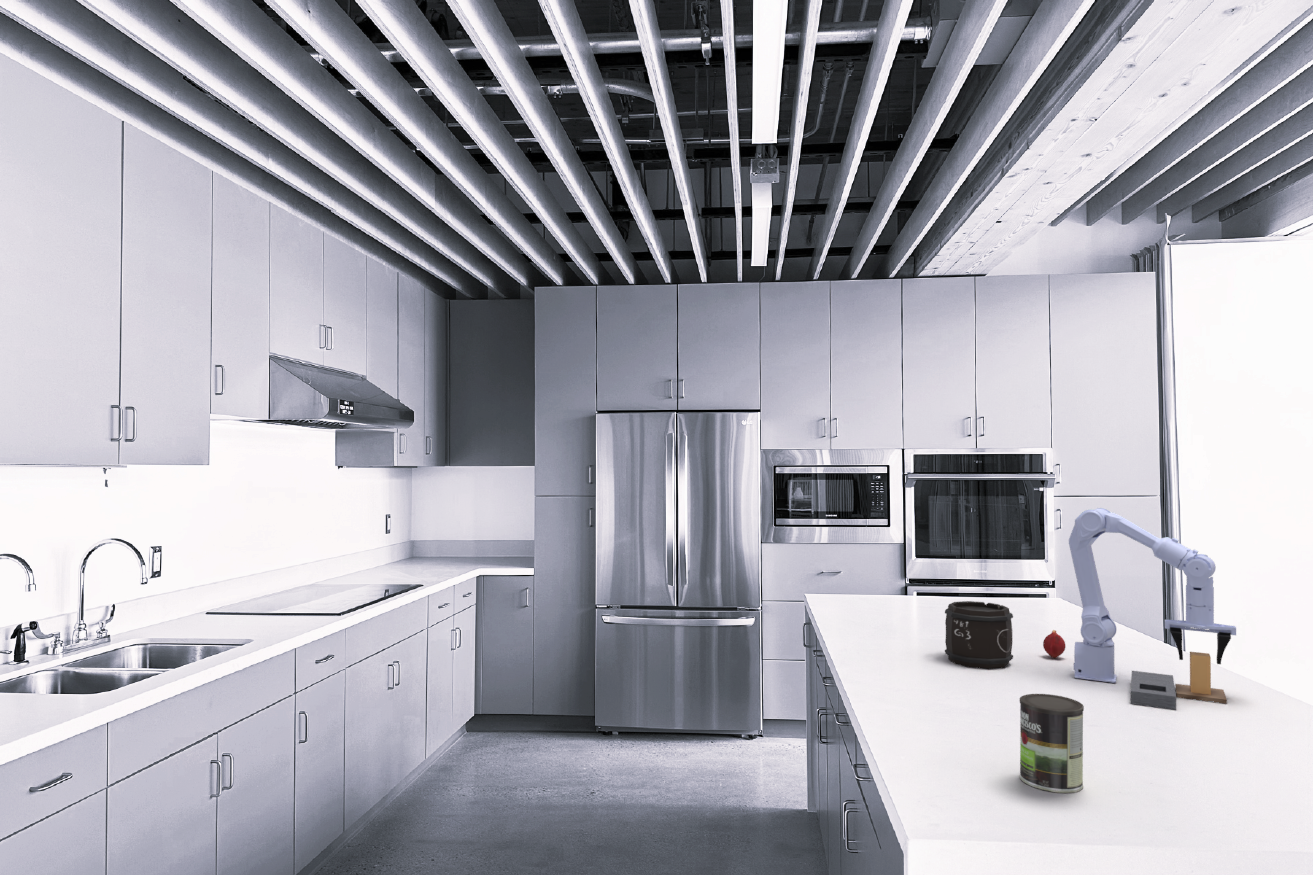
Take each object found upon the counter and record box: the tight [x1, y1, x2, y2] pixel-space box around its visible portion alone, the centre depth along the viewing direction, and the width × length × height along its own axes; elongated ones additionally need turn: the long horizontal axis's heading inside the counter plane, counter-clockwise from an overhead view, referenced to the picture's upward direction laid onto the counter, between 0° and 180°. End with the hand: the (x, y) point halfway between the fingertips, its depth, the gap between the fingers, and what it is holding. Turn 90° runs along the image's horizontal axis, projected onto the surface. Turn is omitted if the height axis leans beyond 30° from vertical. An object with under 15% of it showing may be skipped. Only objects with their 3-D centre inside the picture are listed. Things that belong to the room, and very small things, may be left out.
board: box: [1174, 683, 1228, 705], centre depth 203 cm, size 10×10×1 cm
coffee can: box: [1019, 693, 1085, 794], centre depth 148 cm, size 10×10×14 cm
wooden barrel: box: [944, 600, 1014, 670], centre depth 235 cm, size 18×18×16 cm
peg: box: [1189, 651, 1212, 695], centre depth 203 cm, size 4×4×9 cm
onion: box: [1042, 629, 1067, 659], centre depth 240 cm, size 6×6×8 cm
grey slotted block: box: [1130, 670, 1177, 711], centre depth 203 cm, size 9×22×3 cm, turn 150°
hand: (1199, 661), depth 203 cm, fingers open, 7 cm apart
